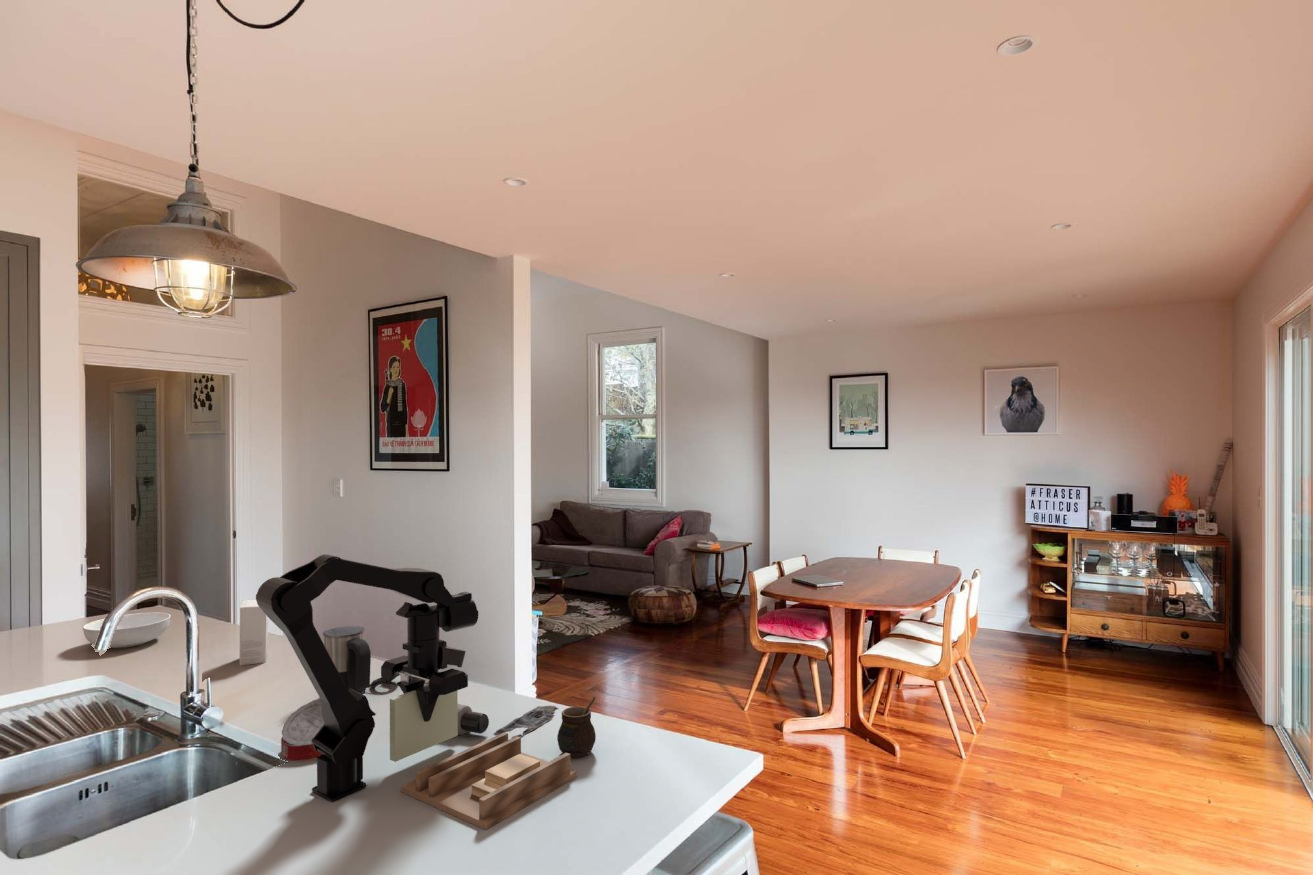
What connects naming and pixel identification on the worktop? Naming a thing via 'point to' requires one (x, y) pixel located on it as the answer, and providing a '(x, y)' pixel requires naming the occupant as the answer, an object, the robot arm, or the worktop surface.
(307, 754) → the canned food
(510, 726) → the driftwood
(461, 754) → the walnut rack
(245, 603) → the skincare box
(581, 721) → the mate gourd
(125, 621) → the serving bowl
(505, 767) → the oak offcut
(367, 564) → the robot arm
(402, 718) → the green sheet
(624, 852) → the worktop surface
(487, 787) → the pine offcut
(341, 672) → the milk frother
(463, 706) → the lotion bottle
